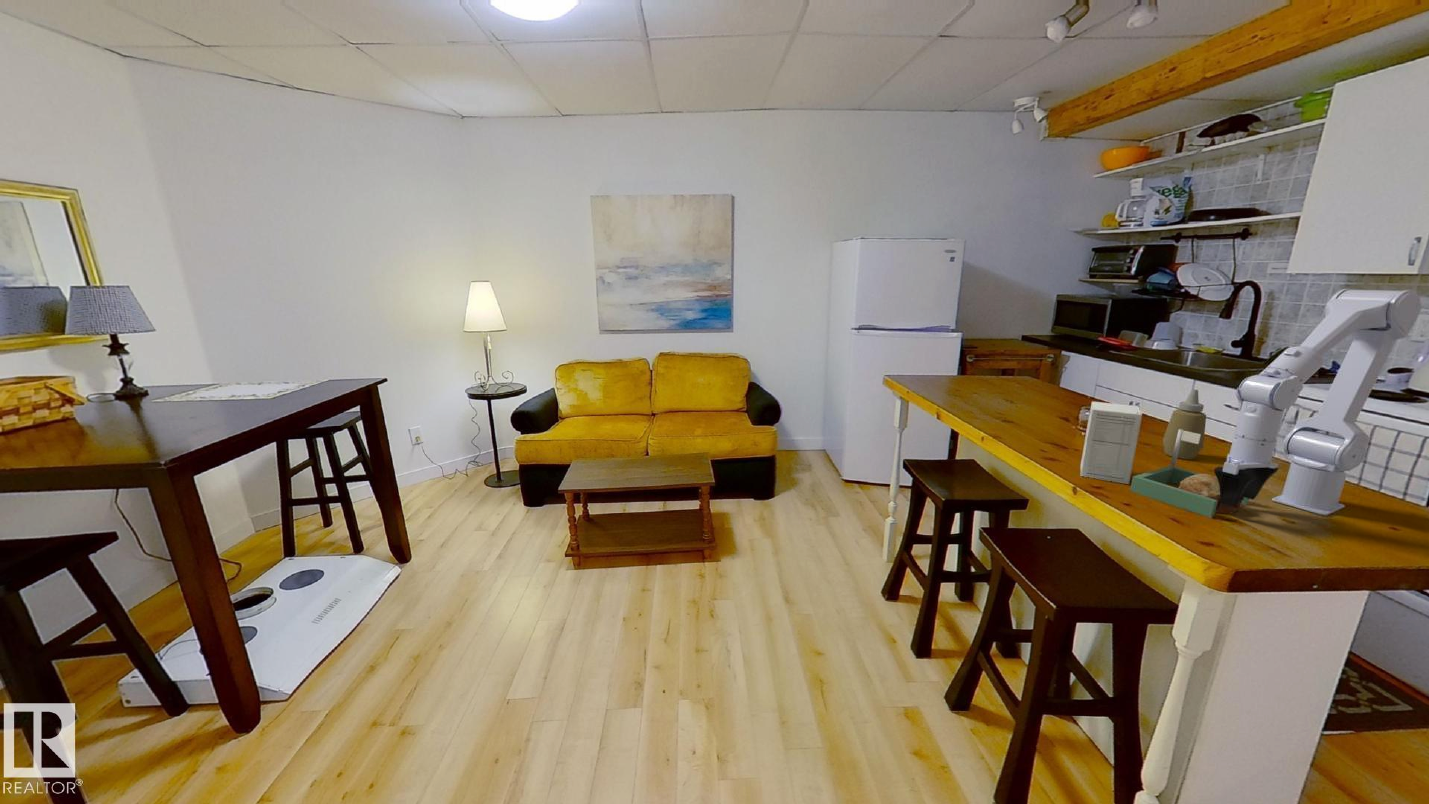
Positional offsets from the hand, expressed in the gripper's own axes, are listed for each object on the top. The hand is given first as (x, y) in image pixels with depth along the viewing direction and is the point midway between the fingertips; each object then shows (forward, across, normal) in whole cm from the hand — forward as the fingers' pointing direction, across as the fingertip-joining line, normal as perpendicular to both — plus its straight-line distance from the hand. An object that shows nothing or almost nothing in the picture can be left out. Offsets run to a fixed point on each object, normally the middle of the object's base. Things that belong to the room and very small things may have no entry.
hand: (1237, 501), depth 104 cm
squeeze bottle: (+3, +30, +22) cm, 37 cm away
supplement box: (+3, -2, +23) cm, 24 cm away
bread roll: (+3, 0, +4) cm, 5 cm away
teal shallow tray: (+2, 0, +7) cm, 8 cm away
